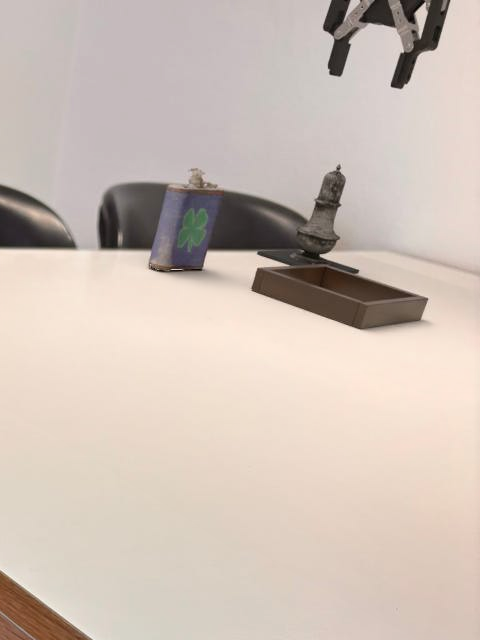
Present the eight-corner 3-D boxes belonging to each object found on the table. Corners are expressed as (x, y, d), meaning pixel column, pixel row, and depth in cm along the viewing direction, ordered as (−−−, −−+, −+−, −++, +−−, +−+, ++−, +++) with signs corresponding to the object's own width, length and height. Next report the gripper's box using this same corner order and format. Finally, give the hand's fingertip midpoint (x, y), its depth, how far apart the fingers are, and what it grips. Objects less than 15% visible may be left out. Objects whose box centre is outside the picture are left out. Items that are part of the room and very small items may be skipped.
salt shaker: (287, 259, 140) (317, 161, 134) (287, 252, 145) (316, 157, 139) (332, 269, 139) (364, 171, 133) (330, 261, 144) (361, 167, 138)
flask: (159, 272, 120) (184, 170, 114) (139, 265, 122) (163, 164, 116) (208, 270, 126) (234, 173, 120) (188, 263, 128) (213, 167, 122)
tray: (316, 284, 131) (323, 263, 129) (420, 320, 123) (429, 298, 122) (250, 290, 120) (257, 267, 119) (359, 329, 113) (368, 305, 112)
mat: (295, 252, 149) (296, 249, 148) (358, 273, 143) (359, 269, 143) (256, 254, 142) (257, 250, 142) (321, 275, 136) (322, 272, 136)
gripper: (483, -62, 122) (430, 95, 130) (372, -75, 129) (329, 74, 138) (456, -74, 117) (403, 90, 125) (343, -87, 124) (299, 69, 133)
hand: (364, 81), depth 131 cm, fingers open, 8 cm apart
